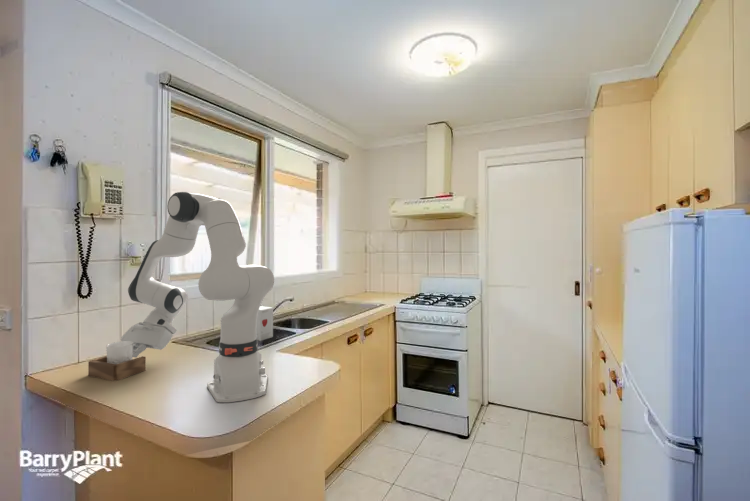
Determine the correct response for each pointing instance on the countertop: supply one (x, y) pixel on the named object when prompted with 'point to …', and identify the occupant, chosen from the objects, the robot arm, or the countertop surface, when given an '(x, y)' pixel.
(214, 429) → the countertop surface
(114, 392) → the countertop surface
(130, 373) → the walnut rest
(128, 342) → the white cup
